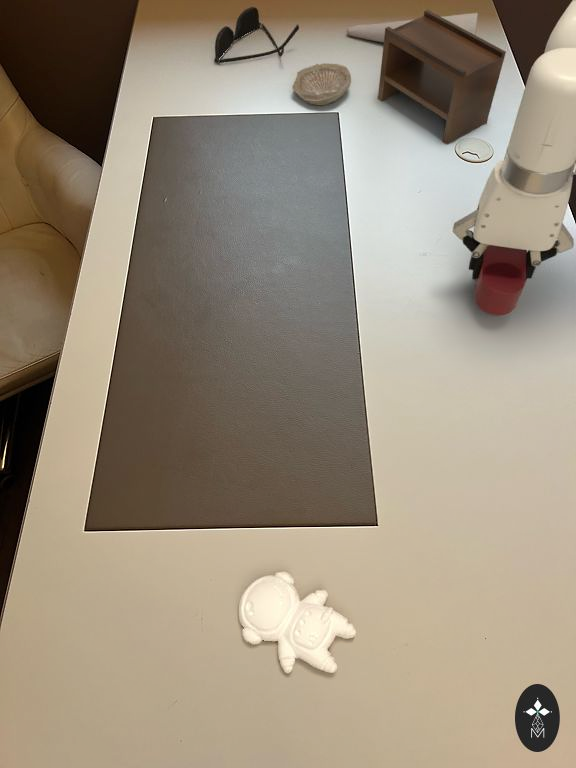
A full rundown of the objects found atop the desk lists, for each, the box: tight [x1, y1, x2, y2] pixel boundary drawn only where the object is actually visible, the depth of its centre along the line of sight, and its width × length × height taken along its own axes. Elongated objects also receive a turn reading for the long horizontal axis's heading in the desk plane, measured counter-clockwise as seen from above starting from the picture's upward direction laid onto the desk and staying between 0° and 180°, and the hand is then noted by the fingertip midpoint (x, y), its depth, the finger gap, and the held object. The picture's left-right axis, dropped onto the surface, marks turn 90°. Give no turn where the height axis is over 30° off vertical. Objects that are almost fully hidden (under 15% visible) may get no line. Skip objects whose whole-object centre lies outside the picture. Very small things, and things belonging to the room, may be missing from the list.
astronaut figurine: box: [238, 571, 357, 674], centre depth 63 cm, size 9×12×3 cm
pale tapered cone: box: [346, 12, 479, 44], centre depth 124 cm, size 8×9×26 cm
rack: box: [377, 9, 507, 145], centre depth 109 cm, size 10×18×13 cm, turn 37°
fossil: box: [292, 63, 352, 106], centre depth 117 cm, size 10×12×3 cm
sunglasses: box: [213, 6, 300, 64], centre depth 124 cm, size 17×14×5 cm
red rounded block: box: [474, 245, 528, 316], centre depth 85 cm, size 14×6×4 cm, turn 166°
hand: (498, 274), depth 87 cm, fingers closed on red rounded block, 5 cm apart
